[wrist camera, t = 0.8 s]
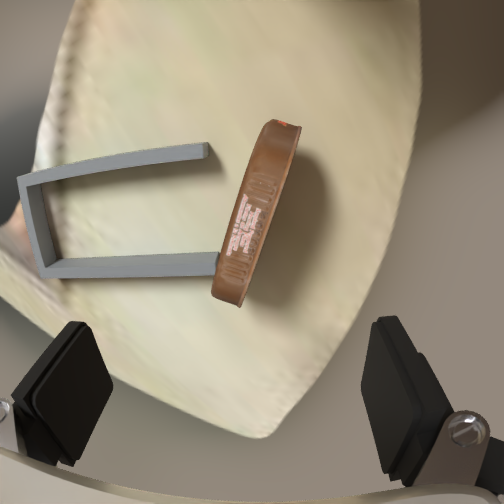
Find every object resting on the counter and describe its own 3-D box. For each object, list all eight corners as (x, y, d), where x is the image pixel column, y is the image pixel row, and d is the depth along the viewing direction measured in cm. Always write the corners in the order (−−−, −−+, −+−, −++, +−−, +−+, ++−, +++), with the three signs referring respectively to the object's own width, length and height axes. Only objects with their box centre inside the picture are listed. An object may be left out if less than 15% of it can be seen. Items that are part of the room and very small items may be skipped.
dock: (30, 172, 28) (16, 177, 25) (207, 142, 26) (202, 143, 24) (52, 268, 32) (40, 278, 30) (219, 263, 31) (215, 275, 28)
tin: (247, 279, 31) (241, 330, 24) (216, 270, 31) (200, 318, 23) (300, 128, 26) (314, 128, 18) (265, 116, 26) (264, 111, 18)
